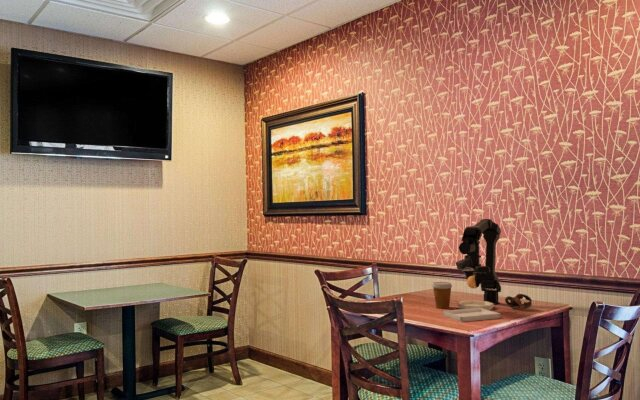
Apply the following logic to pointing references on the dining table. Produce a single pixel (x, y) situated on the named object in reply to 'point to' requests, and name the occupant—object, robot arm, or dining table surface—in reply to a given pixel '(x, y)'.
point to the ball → (471, 282)
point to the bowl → (475, 304)
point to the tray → (471, 314)
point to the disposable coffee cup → (442, 294)
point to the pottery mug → (518, 301)
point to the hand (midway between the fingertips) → (473, 286)
